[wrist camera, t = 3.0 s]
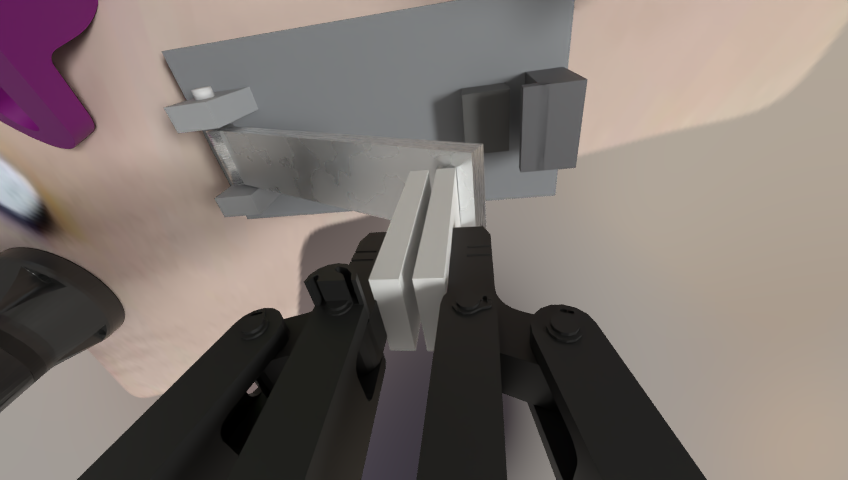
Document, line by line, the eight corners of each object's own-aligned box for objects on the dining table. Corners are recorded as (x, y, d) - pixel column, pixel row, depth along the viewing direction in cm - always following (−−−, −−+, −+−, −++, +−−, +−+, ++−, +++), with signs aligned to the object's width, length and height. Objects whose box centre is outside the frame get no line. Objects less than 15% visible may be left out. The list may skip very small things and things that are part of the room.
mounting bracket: (159, 107, 34) (57, -124, 19) (96, 165, 30) (-103, -73, 14) (59, 60, 32) (-146, -240, 17) (-23, 114, 28) (-397, -221, 12)
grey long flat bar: (249, 174, 26) (228, 183, 25) (225, 123, 24) (201, 131, 23) (489, 225, 15) (472, 245, 14) (487, 140, 13) (466, 156, 12)
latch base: (258, 208, 33) (215, 250, 27) (181, 48, 25) (97, 59, 19) (549, 184, 28) (572, 228, 23) (567, -18, 20) (608, -30, 15)
